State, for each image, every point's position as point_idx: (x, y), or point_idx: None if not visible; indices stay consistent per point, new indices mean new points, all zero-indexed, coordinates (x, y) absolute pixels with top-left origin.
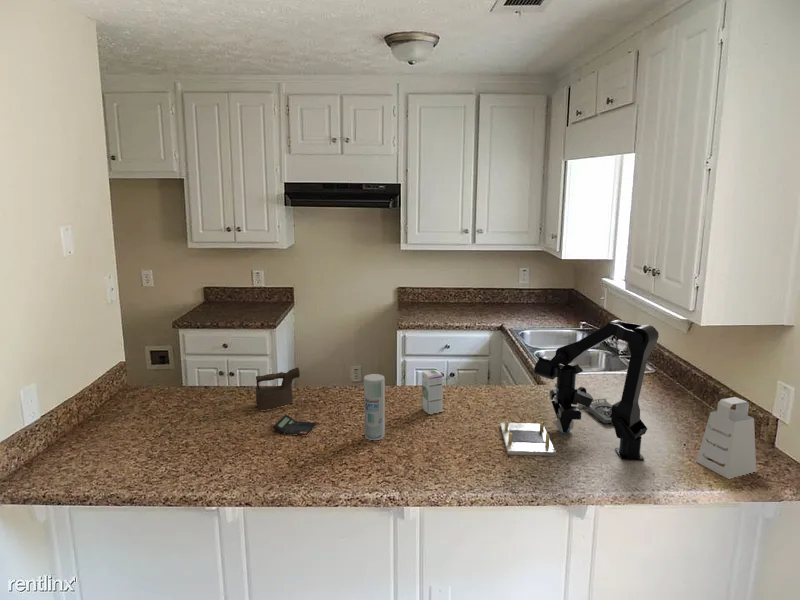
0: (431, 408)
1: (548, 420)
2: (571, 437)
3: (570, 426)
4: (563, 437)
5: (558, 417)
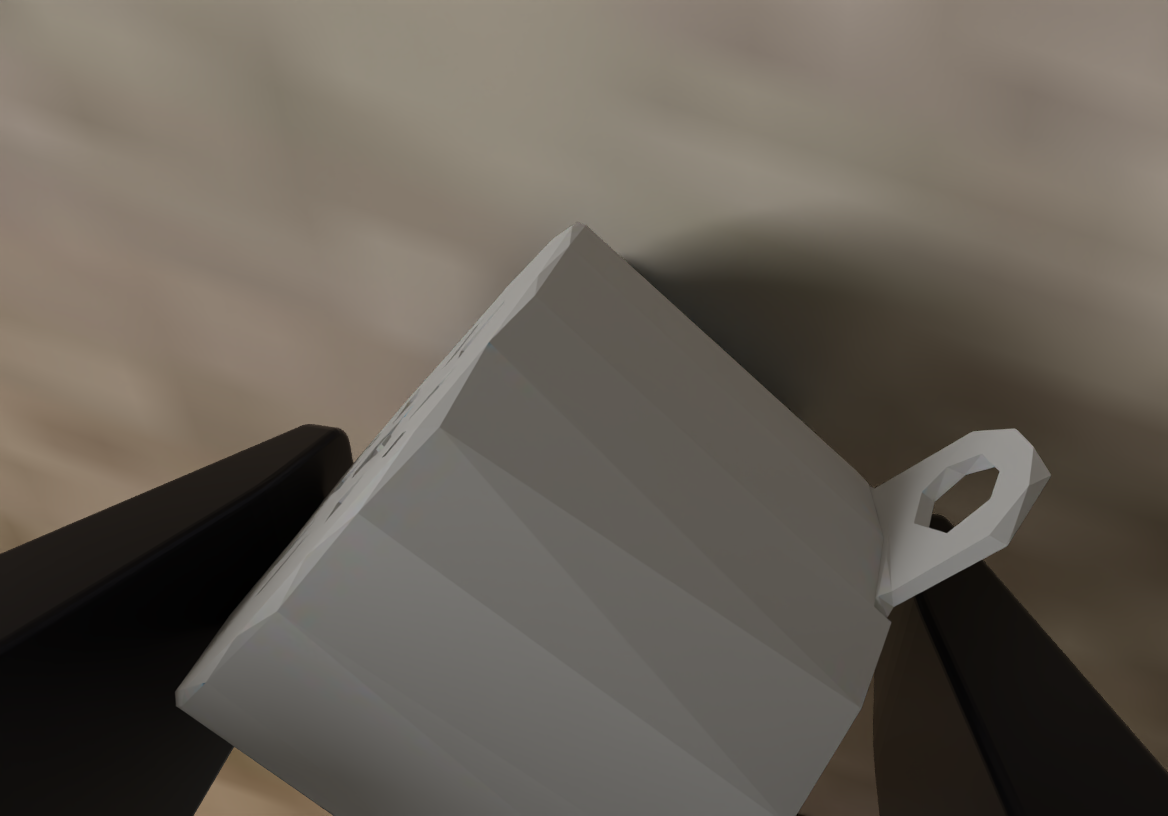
0: None
1: (59, 523)
2: (1092, 339)
3: (947, 550)
4: (1035, 557)
5: None
